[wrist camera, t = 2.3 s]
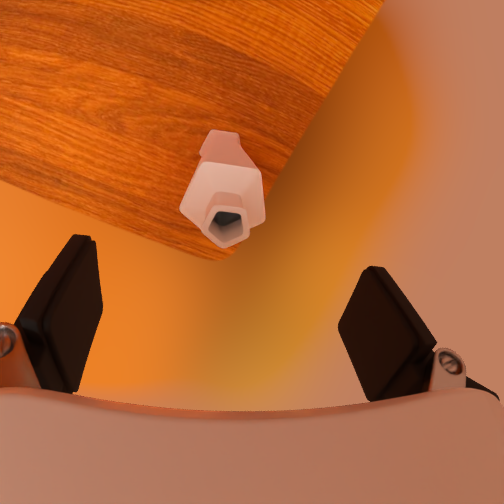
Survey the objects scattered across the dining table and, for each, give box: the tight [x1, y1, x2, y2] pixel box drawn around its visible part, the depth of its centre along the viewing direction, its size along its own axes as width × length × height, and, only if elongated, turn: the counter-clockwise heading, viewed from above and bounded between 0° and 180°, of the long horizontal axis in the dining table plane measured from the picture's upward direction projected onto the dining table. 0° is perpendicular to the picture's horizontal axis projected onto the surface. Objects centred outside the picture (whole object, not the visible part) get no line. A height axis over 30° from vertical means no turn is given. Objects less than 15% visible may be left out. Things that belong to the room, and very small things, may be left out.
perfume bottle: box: [179, 130, 266, 248], centre depth 20 cm, size 5×4×15 cm
